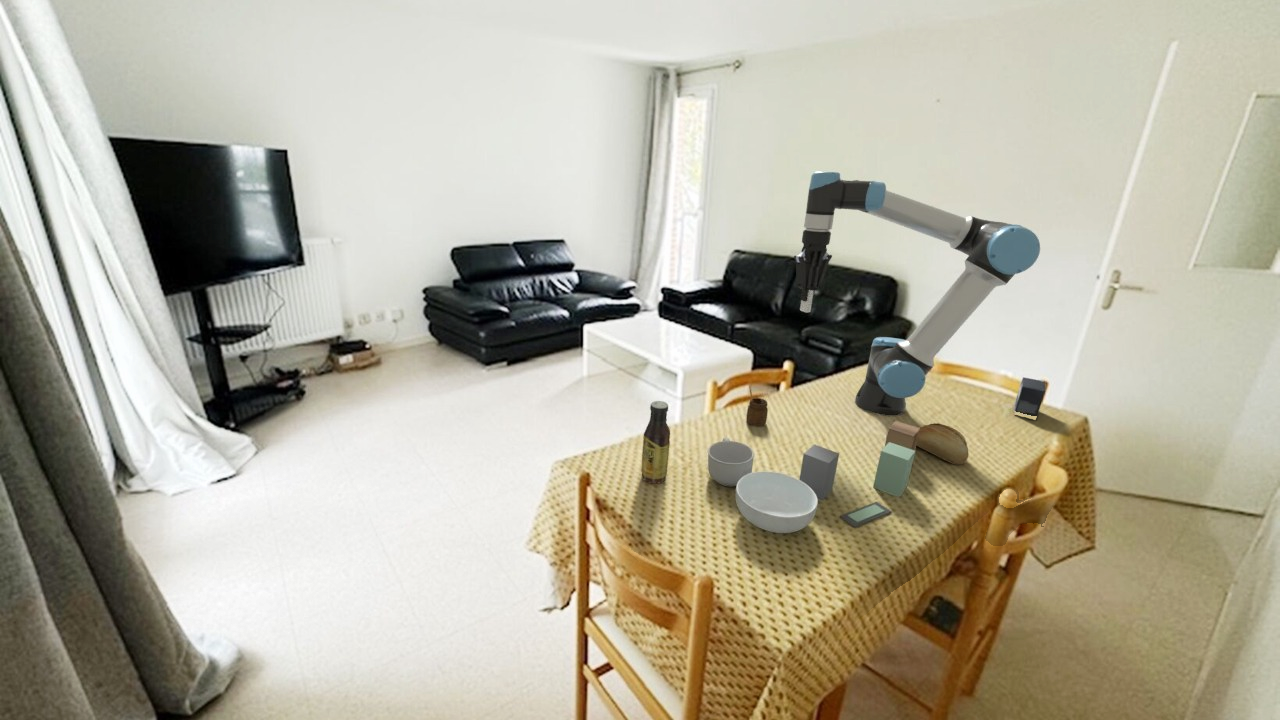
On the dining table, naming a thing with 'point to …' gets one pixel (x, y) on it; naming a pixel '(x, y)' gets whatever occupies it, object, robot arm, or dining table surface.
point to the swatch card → (865, 514)
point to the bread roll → (943, 442)
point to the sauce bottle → (656, 444)
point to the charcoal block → (819, 470)
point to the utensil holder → (757, 410)
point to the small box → (1030, 396)
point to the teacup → (729, 461)
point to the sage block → (894, 469)
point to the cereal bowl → (776, 501)
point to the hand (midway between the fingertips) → (805, 311)
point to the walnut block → (902, 435)
